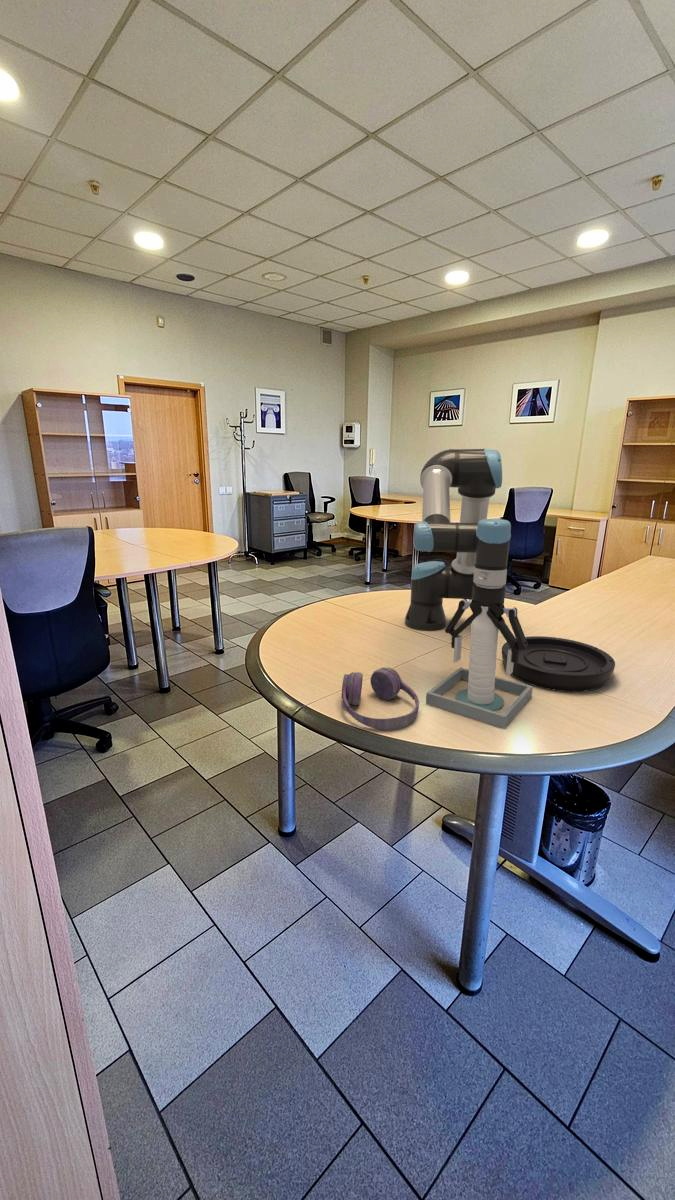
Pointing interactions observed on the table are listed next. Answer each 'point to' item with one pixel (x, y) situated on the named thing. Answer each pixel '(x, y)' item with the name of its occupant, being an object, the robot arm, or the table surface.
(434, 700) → the teal-dotted square tray
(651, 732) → the table surface
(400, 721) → the headphones
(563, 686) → the round tray
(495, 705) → the teal round pad
